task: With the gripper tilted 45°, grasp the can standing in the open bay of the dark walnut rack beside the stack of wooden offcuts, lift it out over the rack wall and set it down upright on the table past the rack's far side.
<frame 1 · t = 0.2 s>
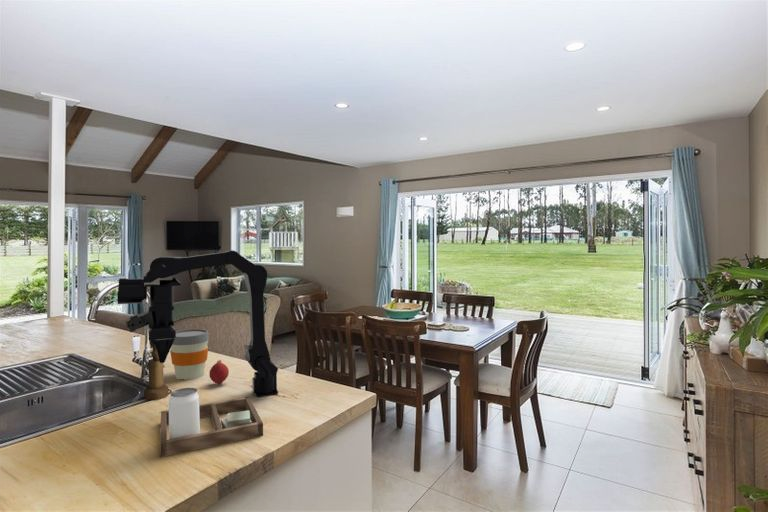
hand: (161, 358, 116), 15 cm above the counter, tool pointing down, fingers open, 9 cm apart
walnut rack: (210, 428, 106), on the counter
can: (184, 442, 99), resting in walnut rack
wooden pepper mill: (156, 396, 127), on the counter
red pomegranate: (219, 384, 137), on the counter
offcut stack: (237, 431, 104), resting in walnut rack
reusable coffee cup: (190, 376, 146), on the counter
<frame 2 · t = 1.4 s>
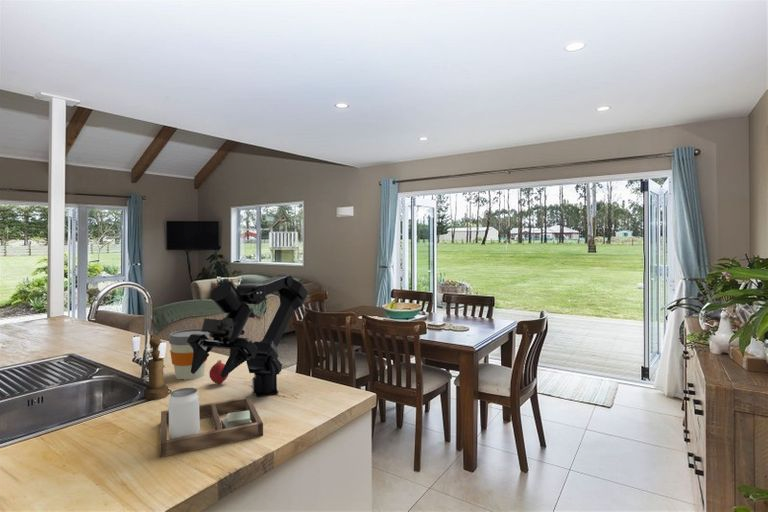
hand: (206, 375, 106), 13 cm above the counter, tool tilted 45°, fingers open, 9 cm apart
nothing on the counter moved.
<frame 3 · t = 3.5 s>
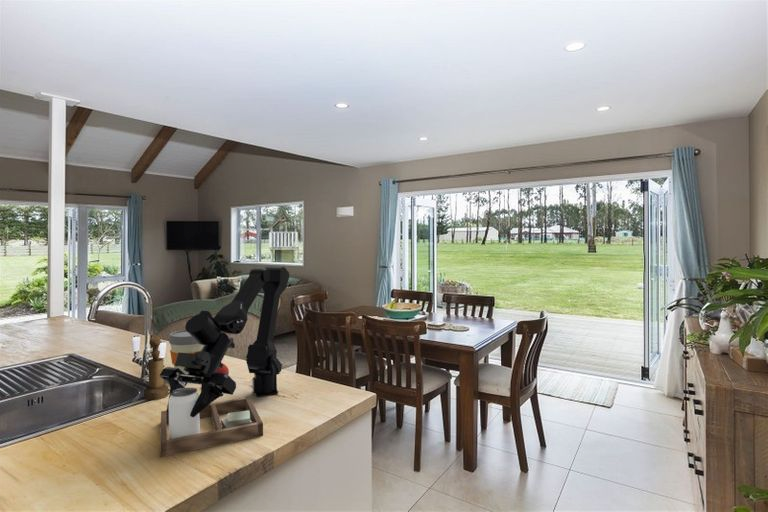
hand: (179, 414, 97), 7 cm above the counter, tool tilted 45°, fingers closed on can, 6 cm apart
can: (184, 442, 99), resting in walnut rack, touching gripper
everything else where it was.
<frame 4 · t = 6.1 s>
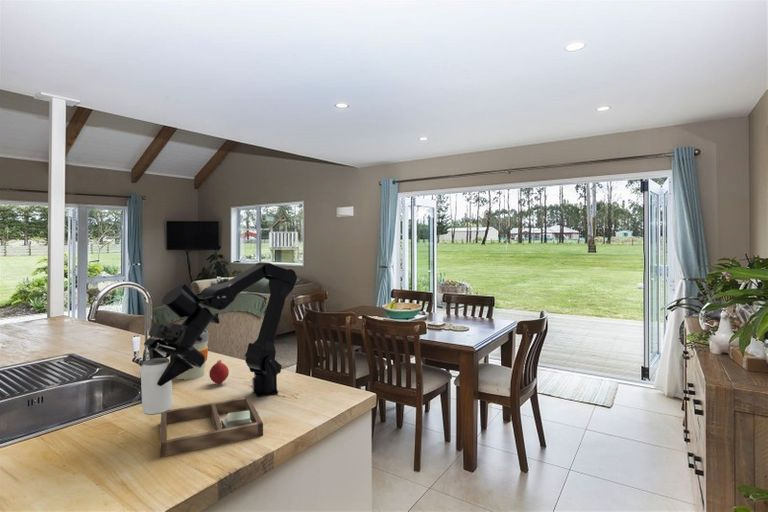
hand: (151, 382, 101), 13 cm above the counter, tool tilted 45°, fingers closed on can, 6 cm apart
can: (157, 410, 102), point 6 cm above the counter, touching gripper
everything else where it was.
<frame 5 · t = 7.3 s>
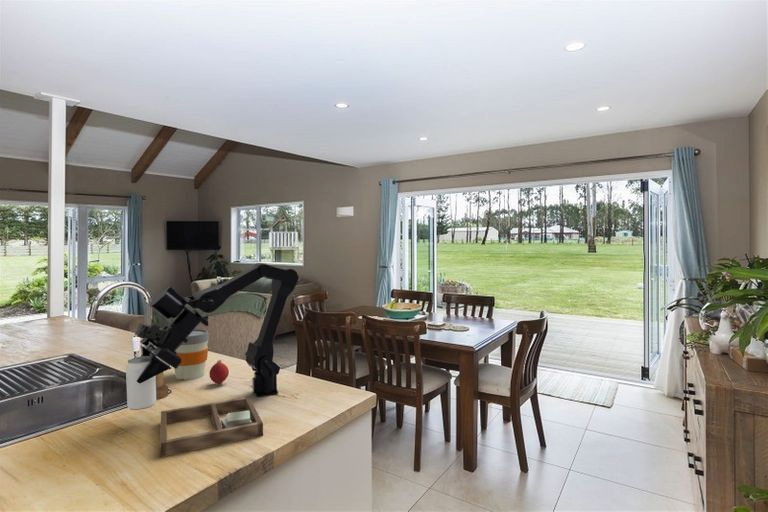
hand: (135, 379, 107), 12 cm above the counter, tool tilted 45°, fingers closed on can, 6 cm apart
can: (142, 406, 108), point 5 cm above the counter, touching gripper
everything else where it was.
when the fingers open (8 cm above the counter, at t = 8.4 s): can drops 1 cm, on the counter.
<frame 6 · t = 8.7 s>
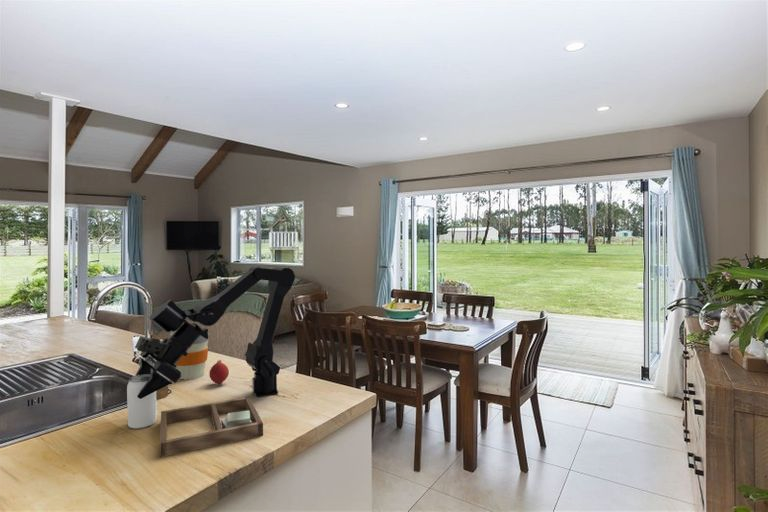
hand: (134, 392, 107), 9 cm above the counter, tool tilted 45°, fingers open, 9 cm apart
can: (142, 424, 108), on the counter
everything else where it was.
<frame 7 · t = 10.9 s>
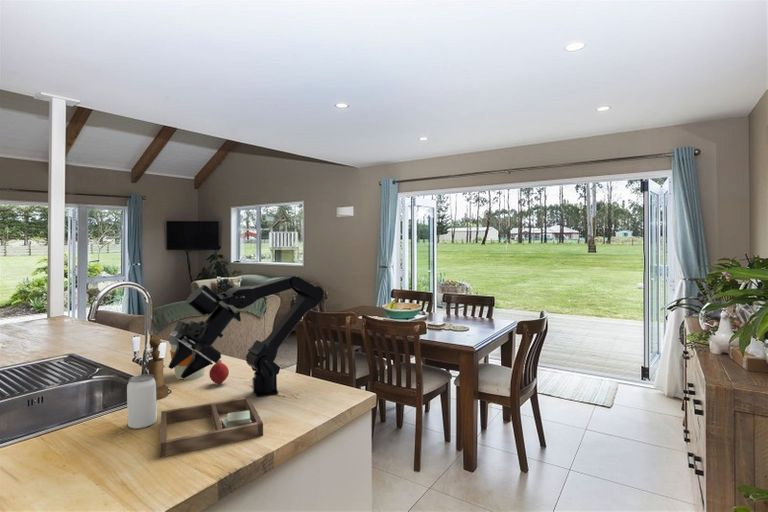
hand: (175, 372, 113), 12 cm above the counter, tool tilted 45°, fingers open, 9 cm apart
nothing on the counter moved.
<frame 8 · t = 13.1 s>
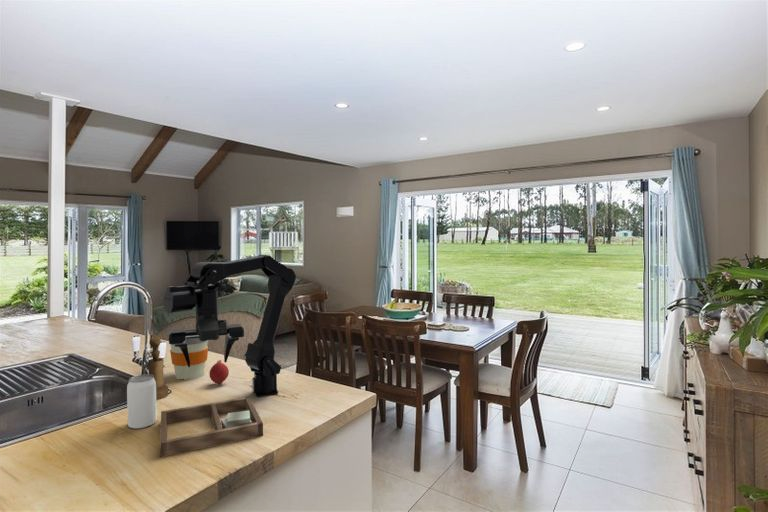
hand: (207, 364, 116), 13 cm above the counter, tool pointing down, fingers open, 9 cm apart
nothing on the counter moved.
at the end: can inside the target area (0.2 cm from its centre), on the counter; can tilted 0°; the gripper is holding nothing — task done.
